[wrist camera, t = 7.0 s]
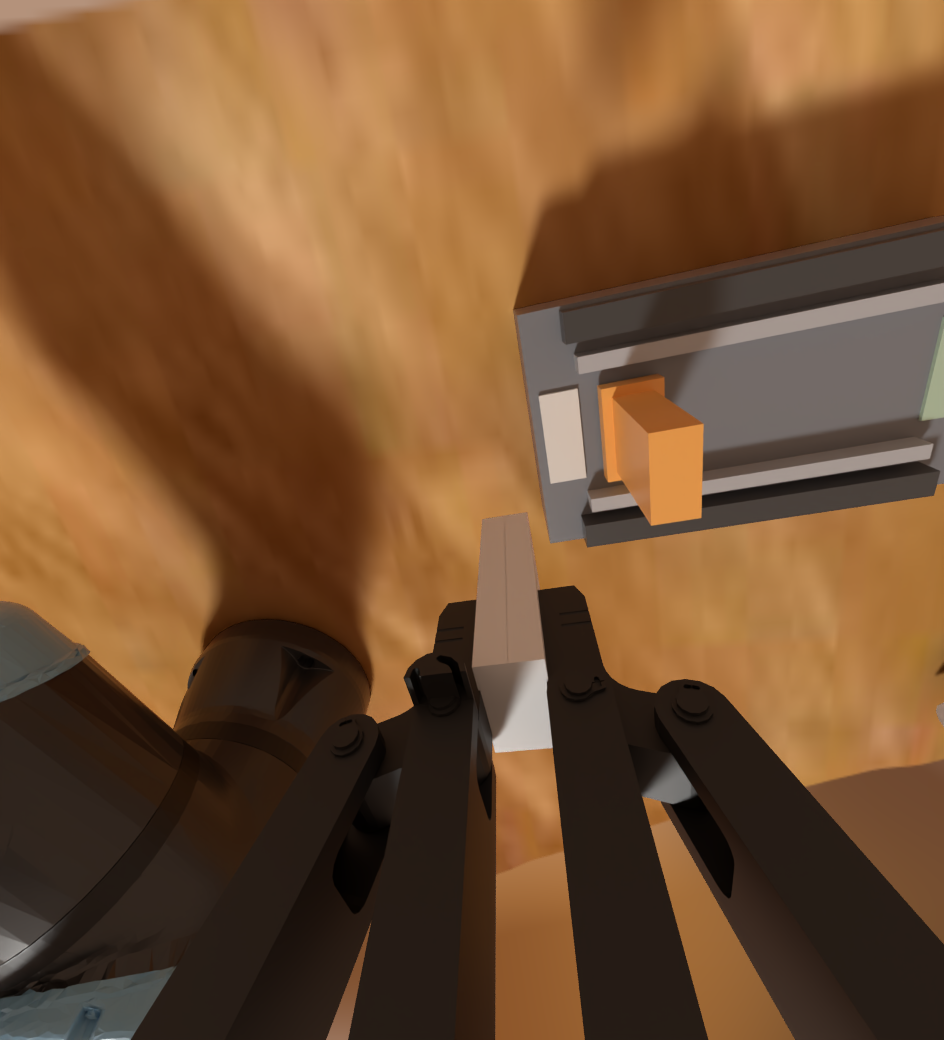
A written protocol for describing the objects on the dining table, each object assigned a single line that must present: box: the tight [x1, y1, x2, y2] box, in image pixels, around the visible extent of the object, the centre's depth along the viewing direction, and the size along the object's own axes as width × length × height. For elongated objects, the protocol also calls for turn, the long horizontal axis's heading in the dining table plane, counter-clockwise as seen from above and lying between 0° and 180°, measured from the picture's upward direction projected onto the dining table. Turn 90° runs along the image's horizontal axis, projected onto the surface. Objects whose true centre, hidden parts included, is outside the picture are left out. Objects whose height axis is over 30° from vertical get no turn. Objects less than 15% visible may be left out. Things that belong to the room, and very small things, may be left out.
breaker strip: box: [513, 216, 944, 547], centre depth 25 cm, size 22×13×6 cm, turn 102°
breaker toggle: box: [597, 374, 704, 526], centre depth 21 cm, size 3×5×7 cm, turn 12°
